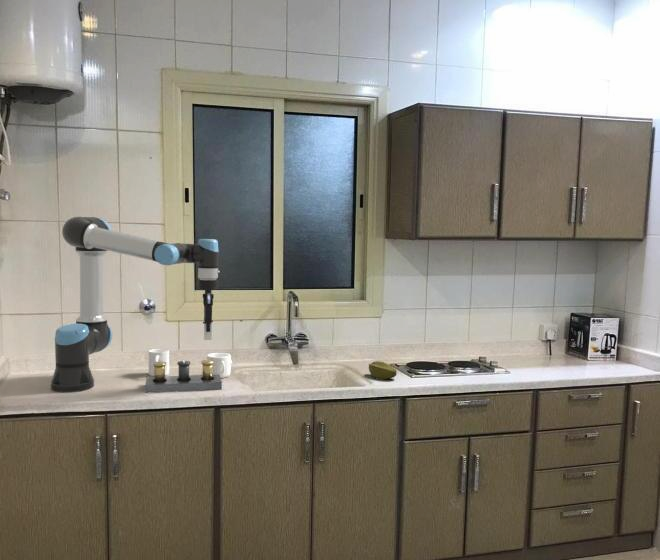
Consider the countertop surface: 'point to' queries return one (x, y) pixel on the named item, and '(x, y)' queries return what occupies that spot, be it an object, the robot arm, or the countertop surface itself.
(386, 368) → the fruit
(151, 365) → the mug
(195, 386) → the mount plate
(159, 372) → the knob near
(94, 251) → the robot arm
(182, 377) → the knob mid
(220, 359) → the mug
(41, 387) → the countertop surface
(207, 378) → the knob far
